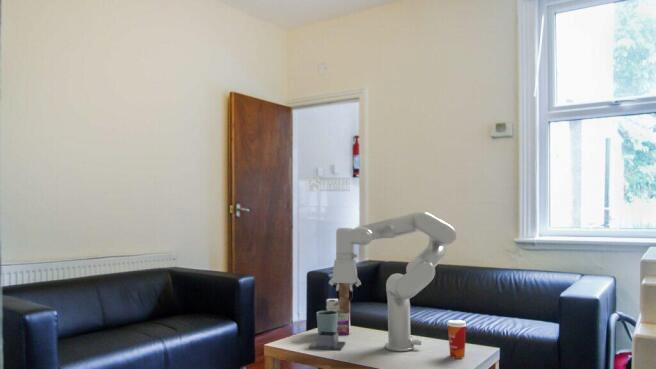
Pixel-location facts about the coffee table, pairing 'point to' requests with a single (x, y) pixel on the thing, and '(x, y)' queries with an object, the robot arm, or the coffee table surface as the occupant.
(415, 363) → the coffee table surface
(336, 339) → the cup bracket
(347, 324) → the candy bar box
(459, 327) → the paper cup
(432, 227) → the robot arm
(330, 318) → the green tapered container
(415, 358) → the coffee table surface
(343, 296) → the walnut rail
